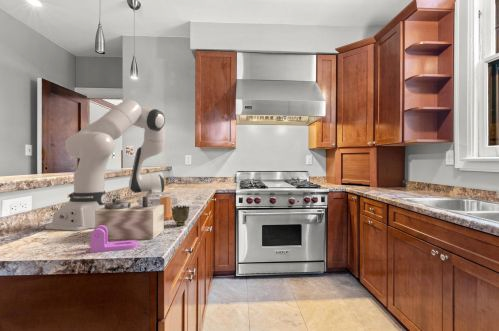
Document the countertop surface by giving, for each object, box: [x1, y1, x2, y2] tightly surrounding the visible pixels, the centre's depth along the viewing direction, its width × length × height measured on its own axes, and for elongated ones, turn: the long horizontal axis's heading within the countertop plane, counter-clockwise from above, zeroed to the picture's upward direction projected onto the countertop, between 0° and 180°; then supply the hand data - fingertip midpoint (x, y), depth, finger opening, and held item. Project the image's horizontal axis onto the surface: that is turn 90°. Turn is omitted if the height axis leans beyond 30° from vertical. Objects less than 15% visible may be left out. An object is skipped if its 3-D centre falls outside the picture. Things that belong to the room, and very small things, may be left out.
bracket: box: [89, 225, 139, 254], centre depth 86 cm, size 13×6×7 cm, turn 109°
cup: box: [171, 205, 190, 227], centre depth 116 cm, size 8×7×8 cm
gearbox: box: [94, 196, 165, 240], centre depth 102 cm, size 20×13×14 cm, turn 92°
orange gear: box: [160, 197, 174, 221], centre depth 130 cm, size 9×9×10 cm
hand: (161, 202), depth 140 cm, fingers open, 8 cm apart
